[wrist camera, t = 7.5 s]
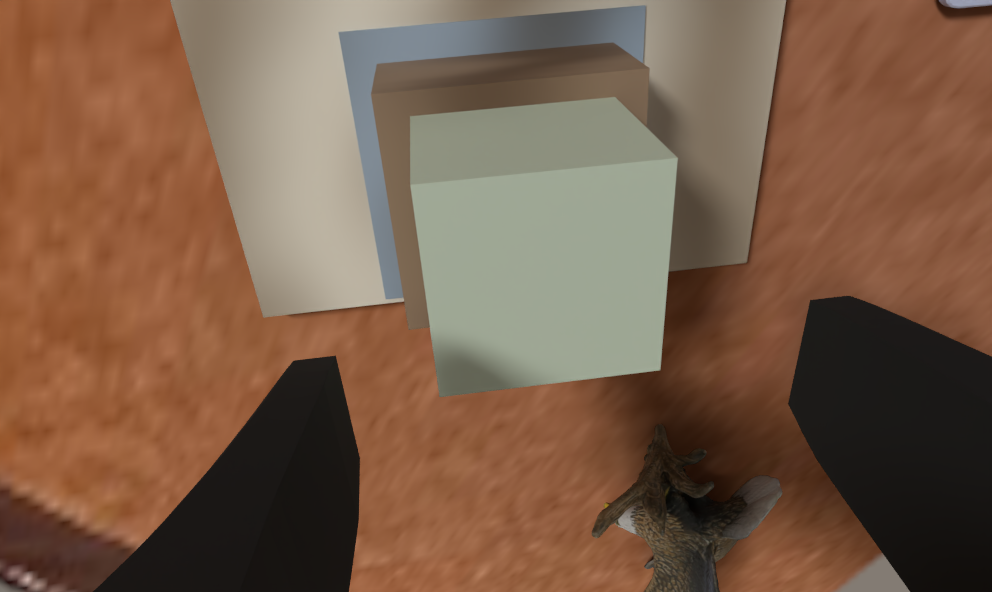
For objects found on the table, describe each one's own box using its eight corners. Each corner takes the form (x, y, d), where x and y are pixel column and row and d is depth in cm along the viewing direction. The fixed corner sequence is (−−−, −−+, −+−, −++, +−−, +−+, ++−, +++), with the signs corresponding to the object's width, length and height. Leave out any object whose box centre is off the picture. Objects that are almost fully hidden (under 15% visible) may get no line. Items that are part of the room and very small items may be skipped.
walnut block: (613, 42, 17) (649, 68, 14) (607, 251, 20) (637, 303, 17) (377, 63, 17) (370, 94, 14) (408, 273, 20) (408, 329, 17)
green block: (609, 275, 17) (660, 370, 14) (433, 294, 17) (439, 396, 13) (614, 97, 15) (677, 158, 11) (410, 116, 14) (410, 185, 11)
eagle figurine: (517, 486, 25) (582, 655, 28) (667, 577, 19) (727, 778, 22) (653, 380, 28) (697, 541, 31) (815, 429, 22) (848, 621, 25)
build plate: (800, -210, 15) (820, -215, 15) (736, 251, 22) (748, 264, 21) (134, -165, 14) (118, -168, 14) (268, 303, 21) (262, 319, 20)
